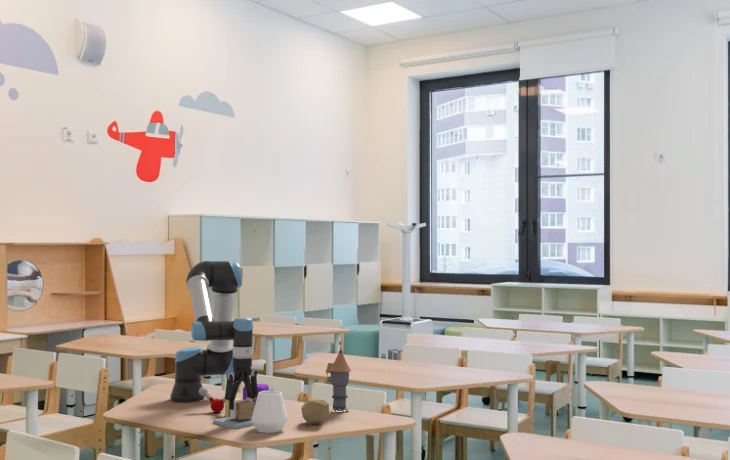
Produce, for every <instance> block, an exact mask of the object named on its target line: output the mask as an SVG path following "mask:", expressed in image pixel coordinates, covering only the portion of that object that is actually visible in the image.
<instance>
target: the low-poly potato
mask: <svg viewBox="0 0 730 460" xmlns="http://www.w3.org/2000/svg"><path fill="white" fill-rule="evenodd" d="M300 409H301V415H302V418H303V419H304V420H305V422H306V423H307V424H308V425H321V424H322V423H323V420H324V419H325V417H326V416H327V415H328V414H329V413H330V405H329V403H328V402H326V401H325V400H324V399H311V398H308V399H306V400H305V402H304V404H303V405H302V406H301V407H300Z"/></svg>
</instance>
